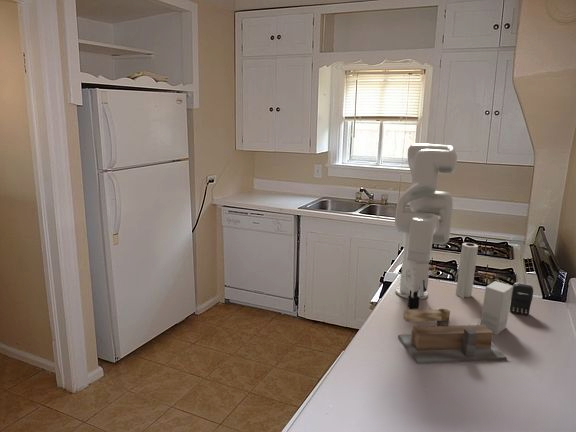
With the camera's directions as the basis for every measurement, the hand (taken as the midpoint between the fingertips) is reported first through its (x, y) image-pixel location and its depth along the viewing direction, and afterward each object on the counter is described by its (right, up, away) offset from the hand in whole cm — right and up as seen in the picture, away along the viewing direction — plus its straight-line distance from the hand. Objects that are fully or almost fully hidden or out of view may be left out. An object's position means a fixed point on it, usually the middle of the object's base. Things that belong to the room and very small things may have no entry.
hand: (412, 307), depth 155 cm
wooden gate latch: (+9, -11, -9) cm, 17 cm away
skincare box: (+29, -8, +6) cm, 31 cm away
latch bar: (+3, -3, -5) cm, 7 cm away
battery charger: (+45, -6, +19) cm, 49 cm away
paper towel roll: (+30, -2, +35) cm, 46 cm away
